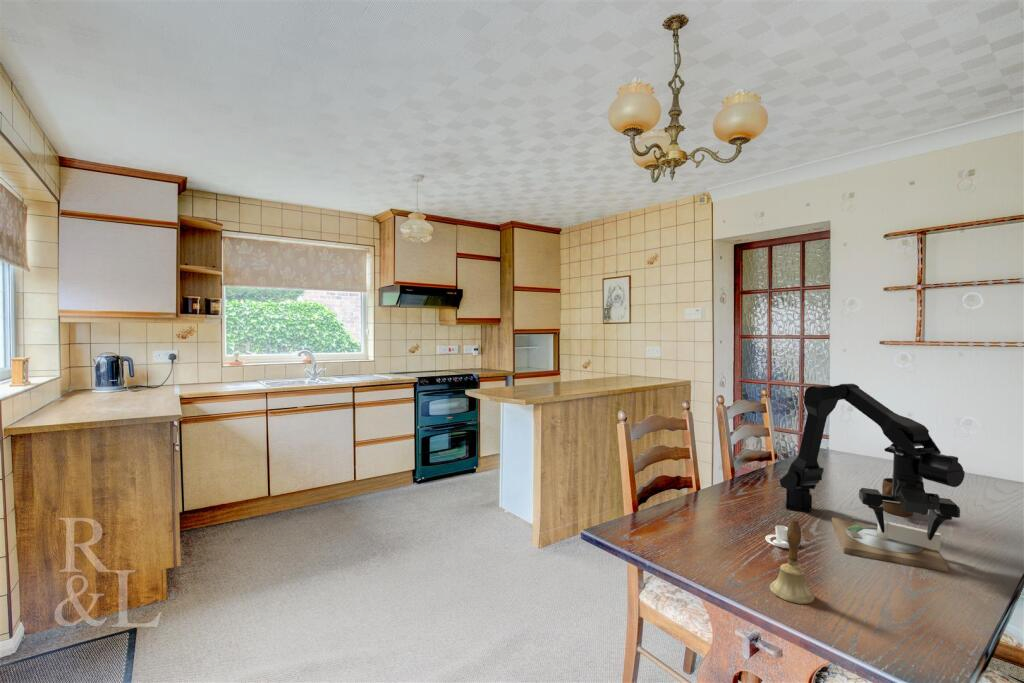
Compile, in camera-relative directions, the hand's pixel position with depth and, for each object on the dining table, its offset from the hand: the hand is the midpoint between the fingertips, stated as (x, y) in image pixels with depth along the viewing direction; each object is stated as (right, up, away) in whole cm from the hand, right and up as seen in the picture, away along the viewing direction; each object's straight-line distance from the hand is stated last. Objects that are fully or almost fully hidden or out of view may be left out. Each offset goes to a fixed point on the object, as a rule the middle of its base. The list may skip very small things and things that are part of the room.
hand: (905, 535), depth 119 cm
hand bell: (-38, -6, -17) cm, 42 cm away
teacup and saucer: (-30, -5, +8) cm, 31 cm away
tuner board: (-1, -5, +6) cm, 8 cm away
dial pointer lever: (0, -3, +4) cm, 5 cm away
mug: (+18, -4, +26) cm, 32 cm away
